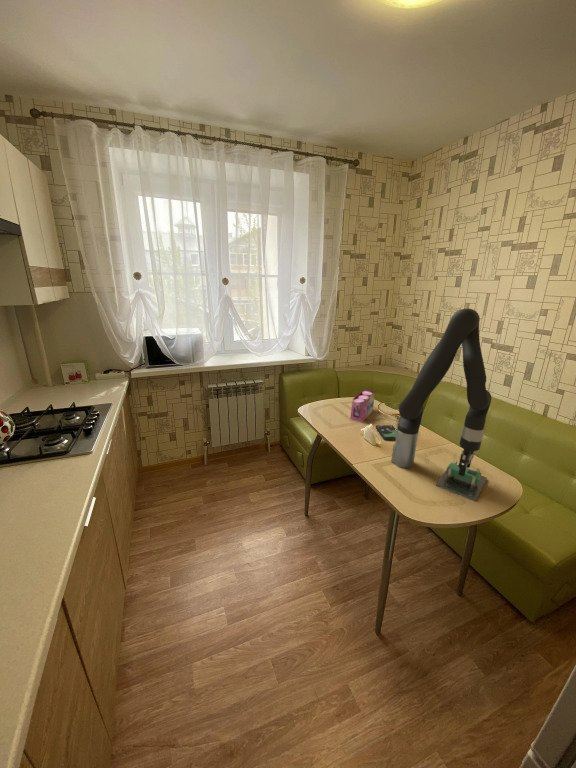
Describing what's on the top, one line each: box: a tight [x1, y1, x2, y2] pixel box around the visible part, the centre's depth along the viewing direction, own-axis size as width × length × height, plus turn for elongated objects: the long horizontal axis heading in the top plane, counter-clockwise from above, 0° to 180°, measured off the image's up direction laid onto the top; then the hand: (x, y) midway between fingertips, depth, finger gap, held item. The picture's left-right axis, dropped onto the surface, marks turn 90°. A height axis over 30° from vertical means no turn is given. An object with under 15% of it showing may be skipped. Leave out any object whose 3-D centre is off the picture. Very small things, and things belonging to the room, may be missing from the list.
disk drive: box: [375, 424, 397, 441], centre depth 178 cm, size 10×3×15 cm
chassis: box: [435, 460, 488, 502], centre depth 135 cm, size 15×20×6 cm
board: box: [445, 462, 482, 485], centre depth 135 cm, size 12×6×3 cm, turn 48°
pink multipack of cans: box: [349, 389, 376, 423], centre depth 202 cm, size 24×8×14 cm, turn 148°
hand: (464, 471), depth 134 cm, fingers open, 8 cm apart
